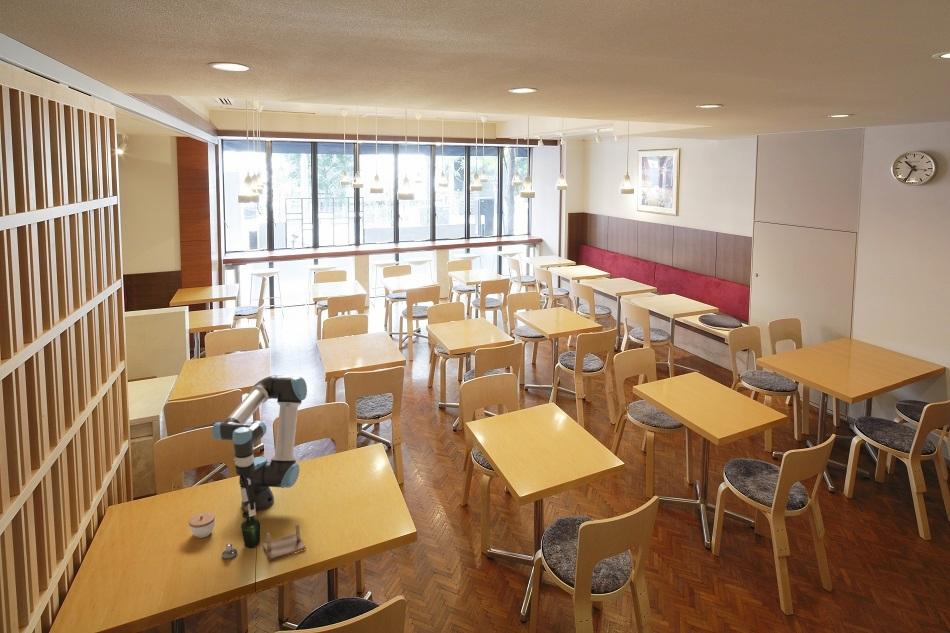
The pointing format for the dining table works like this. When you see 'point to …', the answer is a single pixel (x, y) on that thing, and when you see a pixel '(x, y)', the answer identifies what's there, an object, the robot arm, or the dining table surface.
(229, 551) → the ring nut stud
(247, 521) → the potion bottle
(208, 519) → the lidded jar
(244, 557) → the dining table surface
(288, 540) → the rack
